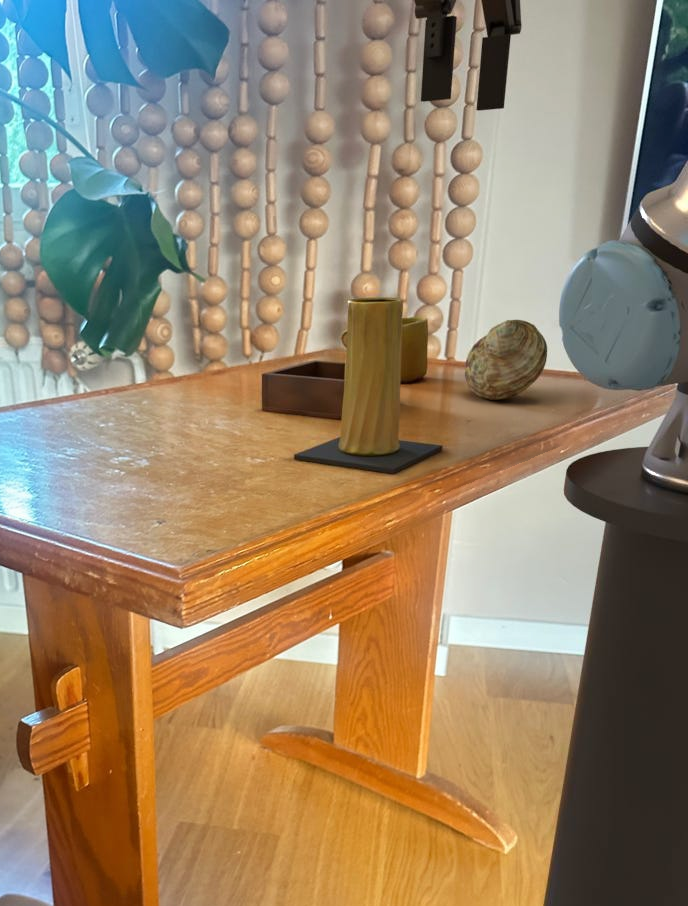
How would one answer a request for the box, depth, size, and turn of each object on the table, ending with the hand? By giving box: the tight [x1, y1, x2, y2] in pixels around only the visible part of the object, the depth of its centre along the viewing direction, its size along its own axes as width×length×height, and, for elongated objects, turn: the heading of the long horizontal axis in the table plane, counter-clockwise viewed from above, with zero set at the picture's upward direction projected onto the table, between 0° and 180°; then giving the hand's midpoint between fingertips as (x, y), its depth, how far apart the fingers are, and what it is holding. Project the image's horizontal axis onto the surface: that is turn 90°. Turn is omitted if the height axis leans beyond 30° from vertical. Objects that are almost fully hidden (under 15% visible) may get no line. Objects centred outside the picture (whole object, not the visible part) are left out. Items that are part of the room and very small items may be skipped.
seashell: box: [464, 319, 548, 401], centre depth 117 cm, size 11×11×10 cm
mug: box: [340, 316, 429, 384], centre depth 133 cm, size 12×10×10 cm
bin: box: [261, 359, 345, 421], centre depth 115 cm, size 13×13×4 cm
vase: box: [339, 296, 404, 456], centre depth 90 cm, size 6×6×14 cm
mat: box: [293, 436, 444, 475], centre depth 93 cm, size 11×11×1 cm
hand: (464, 105), depth 92 cm, fingers open, 13 cm apart
